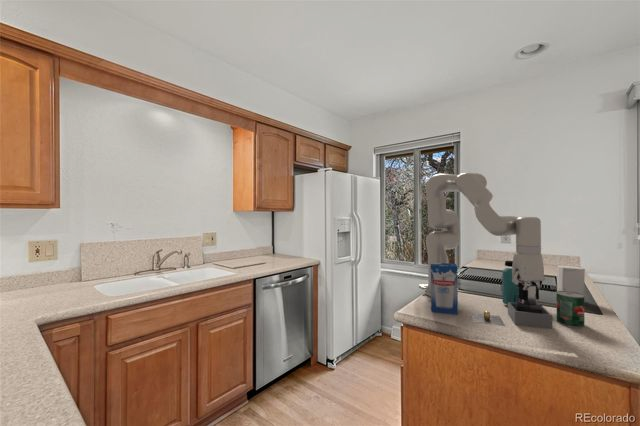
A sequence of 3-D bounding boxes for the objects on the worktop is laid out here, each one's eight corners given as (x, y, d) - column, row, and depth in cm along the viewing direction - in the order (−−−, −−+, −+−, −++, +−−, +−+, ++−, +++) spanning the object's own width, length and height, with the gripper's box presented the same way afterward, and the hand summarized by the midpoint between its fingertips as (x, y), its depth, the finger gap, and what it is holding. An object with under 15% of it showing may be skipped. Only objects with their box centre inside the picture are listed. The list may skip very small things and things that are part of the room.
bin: (514, 326, 103) (514, 311, 103) (507, 316, 114) (507, 302, 114) (552, 331, 99) (552, 315, 99) (541, 319, 109) (541, 305, 109)
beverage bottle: (514, 310, 119) (514, 263, 119) (498, 306, 125) (498, 260, 125) (523, 308, 122) (523, 261, 122) (507, 303, 128) (507, 259, 128)
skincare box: (561, 301, 130) (561, 267, 129) (556, 297, 136) (556, 264, 136) (585, 303, 127) (585, 268, 126) (578, 299, 133) (578, 266, 132)
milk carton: (431, 313, 117) (430, 265, 117) (430, 308, 123) (430, 262, 123) (458, 316, 114) (457, 266, 114) (456, 311, 120) (456, 263, 119)
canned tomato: (587, 329, 100) (587, 298, 100) (558, 325, 104) (558, 295, 104) (581, 321, 107) (581, 292, 107) (554, 317, 111) (554, 289, 111)
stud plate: (473, 324, 106) (473, 314, 106) (470, 314, 116) (470, 305, 116) (505, 328, 102) (505, 317, 102) (499, 318, 112) (499, 308, 112)
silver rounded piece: (517, 310, 108) (516, 284, 108) (528, 309, 109) (528, 283, 109) (530, 315, 103) (529, 287, 103) (542, 314, 104) (541, 286, 104)
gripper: (536, 247, 112) (537, 294, 112) (500, 249, 108) (501, 298, 108) (556, 250, 104) (557, 300, 104) (518, 252, 101) (519, 304, 101)
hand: (528, 298), depth 106 cm, fingers closed on silver rounded piece, 4 cm apart
